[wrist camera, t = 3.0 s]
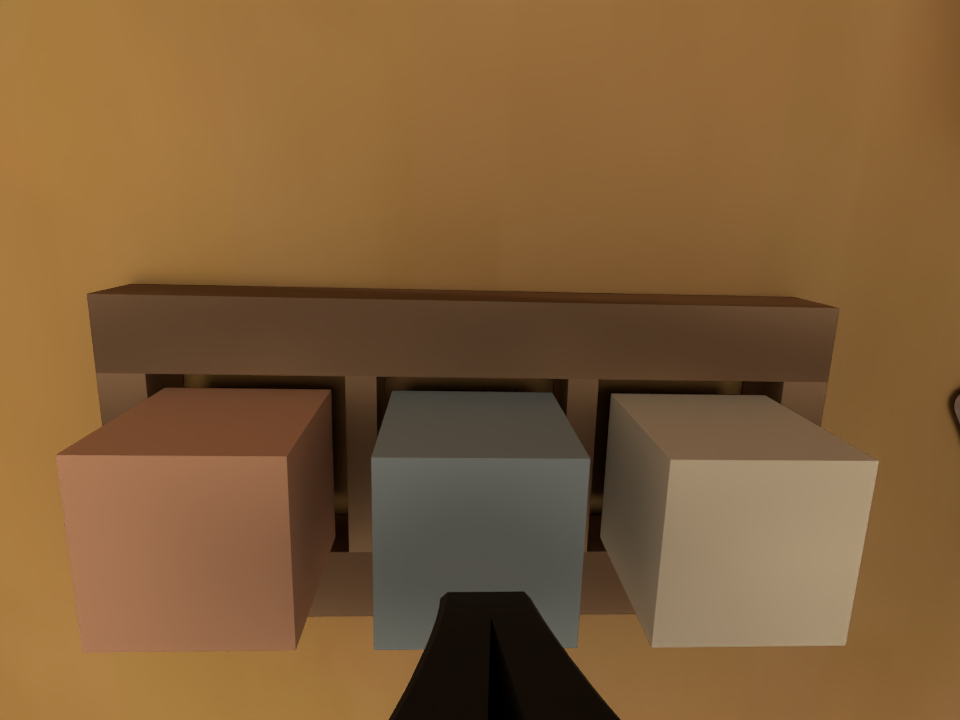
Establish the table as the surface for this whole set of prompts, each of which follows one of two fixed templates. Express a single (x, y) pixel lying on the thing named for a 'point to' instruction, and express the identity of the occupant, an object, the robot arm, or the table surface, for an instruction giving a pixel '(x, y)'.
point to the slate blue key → (475, 508)
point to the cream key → (733, 520)
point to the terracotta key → (201, 520)
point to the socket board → (454, 367)
